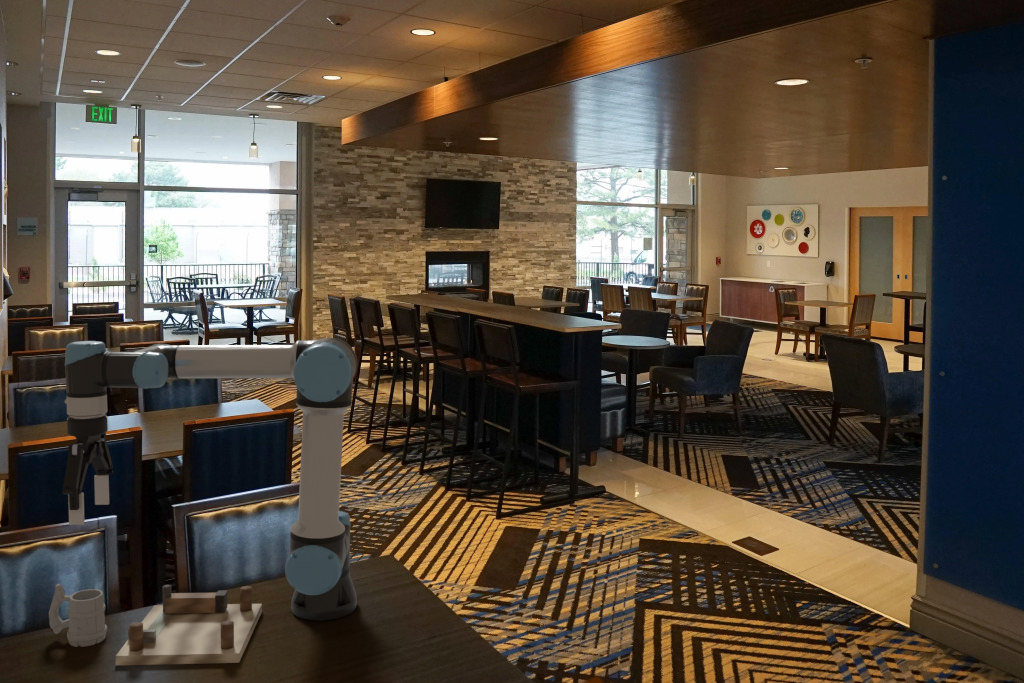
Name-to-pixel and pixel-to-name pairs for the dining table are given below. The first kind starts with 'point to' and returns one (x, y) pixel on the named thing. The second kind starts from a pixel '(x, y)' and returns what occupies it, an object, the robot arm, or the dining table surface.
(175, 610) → the brown piece
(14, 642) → the dining table surface
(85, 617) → the mug
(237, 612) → the stool seat
